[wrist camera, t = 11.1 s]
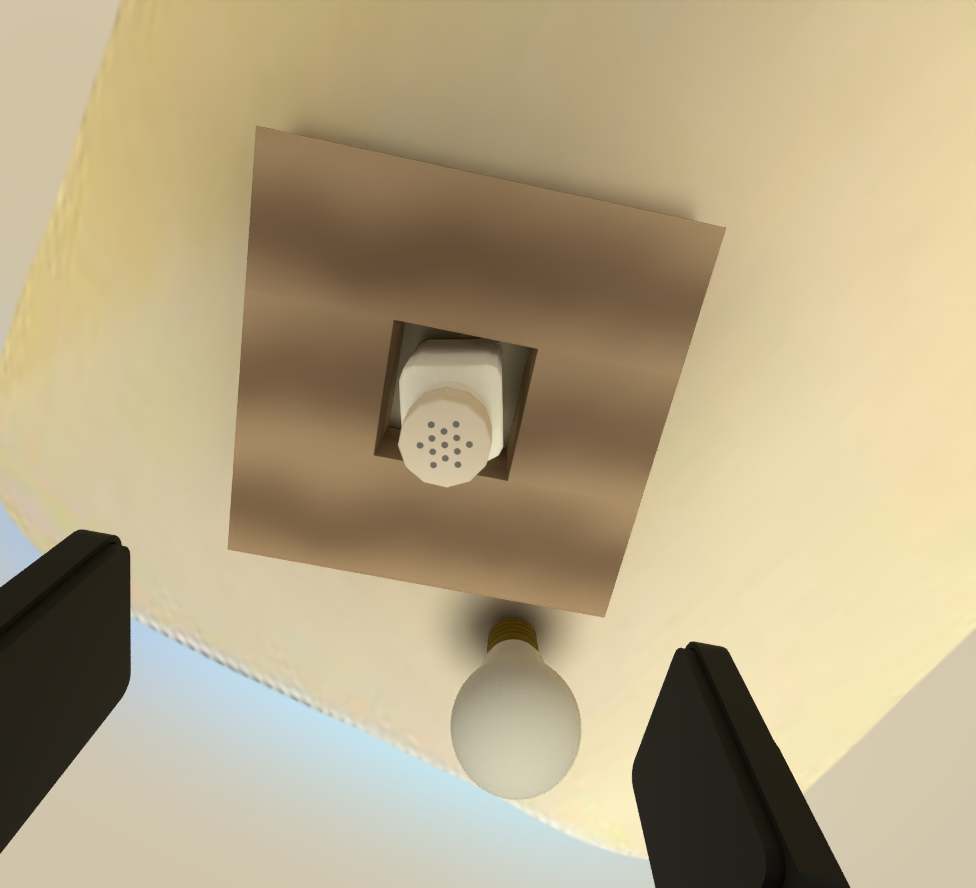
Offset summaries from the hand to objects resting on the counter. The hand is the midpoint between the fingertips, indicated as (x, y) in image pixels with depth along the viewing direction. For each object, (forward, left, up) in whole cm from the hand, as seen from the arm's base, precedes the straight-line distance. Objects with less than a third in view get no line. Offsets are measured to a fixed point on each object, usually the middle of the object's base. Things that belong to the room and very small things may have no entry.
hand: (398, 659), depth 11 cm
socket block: (0, 0, -21) cm, 21 cm away
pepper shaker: (0, 0, -21) cm, 21 cm away
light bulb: (+14, +5, -21) cm, 26 cm away
